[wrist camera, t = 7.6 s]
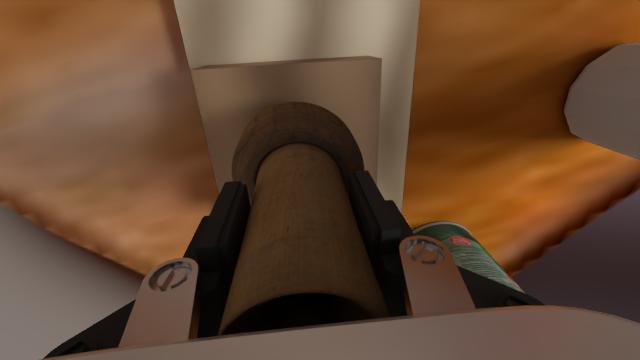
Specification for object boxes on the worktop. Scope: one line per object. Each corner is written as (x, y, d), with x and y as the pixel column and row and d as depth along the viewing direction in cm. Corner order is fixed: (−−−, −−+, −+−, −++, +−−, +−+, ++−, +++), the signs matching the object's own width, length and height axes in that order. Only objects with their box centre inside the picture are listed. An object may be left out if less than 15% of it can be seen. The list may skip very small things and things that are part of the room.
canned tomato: (382, 240, 26) (436, 361, 16) (466, 208, 25) (577, 315, 16) (404, 296, 30) (460, 424, 20) (479, 269, 29) (576, 388, 19)
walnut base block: (368, 55, 18) (382, 58, 15) (365, 195, 22) (375, 216, 20) (205, 65, 17) (190, 70, 15) (235, 206, 22) (227, 229, 19)
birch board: (417, -62, 17) (426, -70, 16) (395, 224, 25) (399, 233, 24) (168, -53, 16) (159, -59, 15) (234, 239, 25) (232, 249, 24)
